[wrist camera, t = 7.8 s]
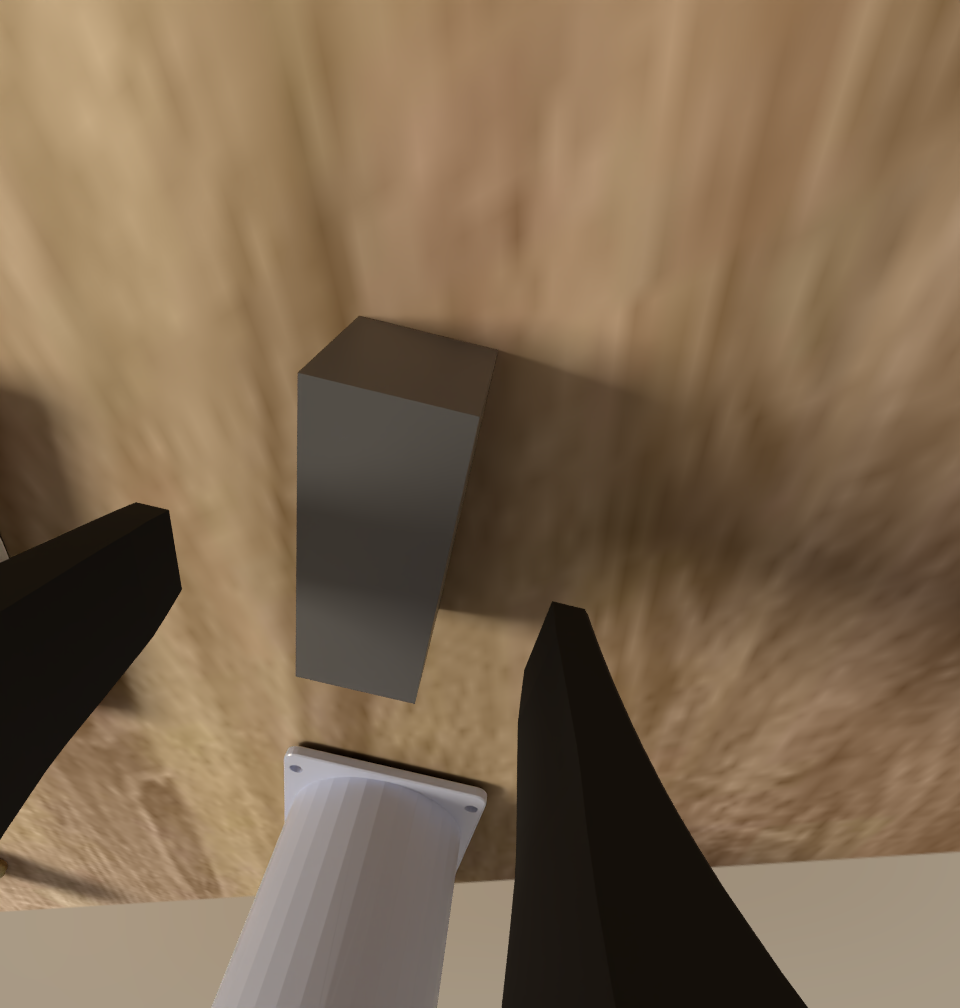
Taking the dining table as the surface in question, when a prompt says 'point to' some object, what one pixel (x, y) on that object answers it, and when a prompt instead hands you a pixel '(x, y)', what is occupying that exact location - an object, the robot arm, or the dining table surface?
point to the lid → (381, 498)
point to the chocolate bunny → (3, 867)
